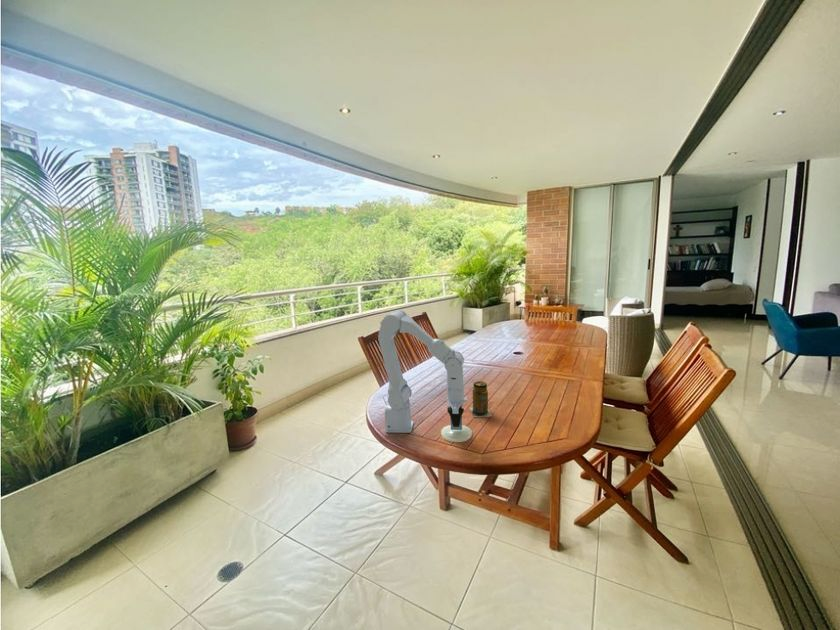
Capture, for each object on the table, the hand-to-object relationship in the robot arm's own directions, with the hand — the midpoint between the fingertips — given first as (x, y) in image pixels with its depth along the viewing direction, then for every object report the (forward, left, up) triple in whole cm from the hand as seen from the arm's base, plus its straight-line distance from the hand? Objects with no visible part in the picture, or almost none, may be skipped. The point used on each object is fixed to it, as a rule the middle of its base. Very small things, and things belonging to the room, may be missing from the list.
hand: (456, 423), depth 121 cm
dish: (0, 0, -4) cm, 4 cm away
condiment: (+10, +16, -4) cm, 20 cm away
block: (0, 0, -2) cm, 2 cm away
